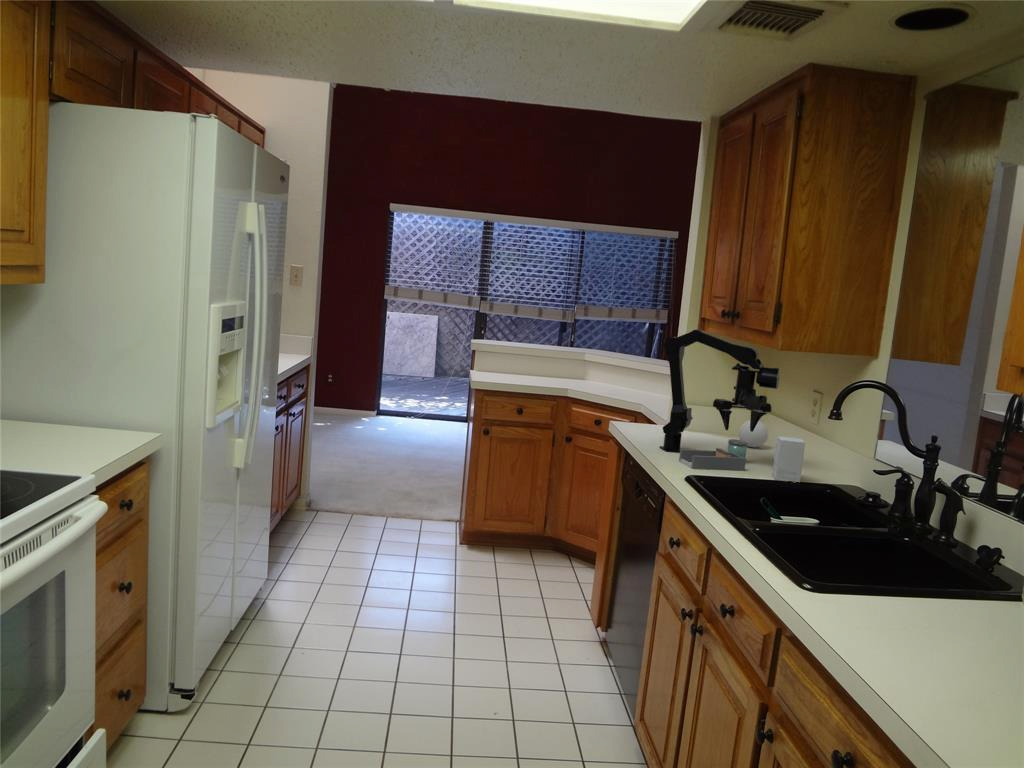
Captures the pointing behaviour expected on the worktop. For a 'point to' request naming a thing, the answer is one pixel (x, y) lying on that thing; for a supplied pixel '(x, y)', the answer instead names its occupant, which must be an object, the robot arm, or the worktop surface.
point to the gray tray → (711, 460)
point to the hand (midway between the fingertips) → (739, 430)
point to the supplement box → (788, 459)
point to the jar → (737, 447)
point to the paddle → (722, 453)
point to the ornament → (753, 434)
